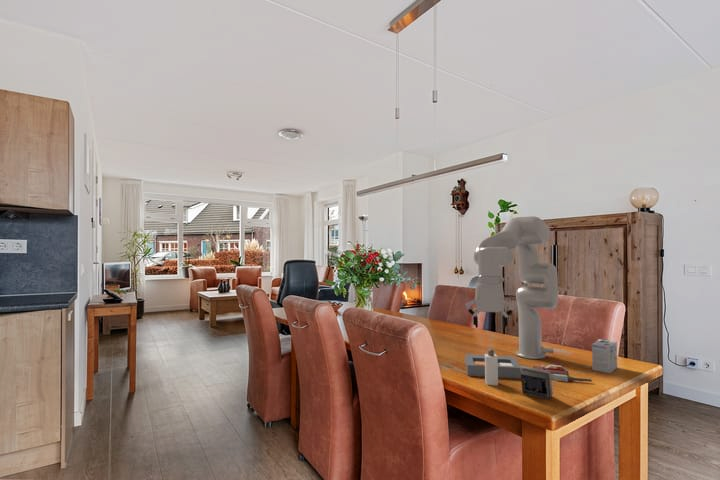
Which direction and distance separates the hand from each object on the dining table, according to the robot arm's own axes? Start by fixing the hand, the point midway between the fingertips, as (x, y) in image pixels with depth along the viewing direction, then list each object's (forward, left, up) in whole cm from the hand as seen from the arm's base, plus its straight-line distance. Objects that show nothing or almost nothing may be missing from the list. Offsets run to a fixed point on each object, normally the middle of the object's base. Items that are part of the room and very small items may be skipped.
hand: (490, 327), depth 138 cm
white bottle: (0, 0, -20) cm, 20 cm away
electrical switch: (-13, +10, -20) cm, 26 cm away
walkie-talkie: (-26, -11, -21) cm, 35 cm away
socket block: (-2, -15, -20) cm, 25 cm away
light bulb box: (-47, -26, -20) cm, 58 cm away
